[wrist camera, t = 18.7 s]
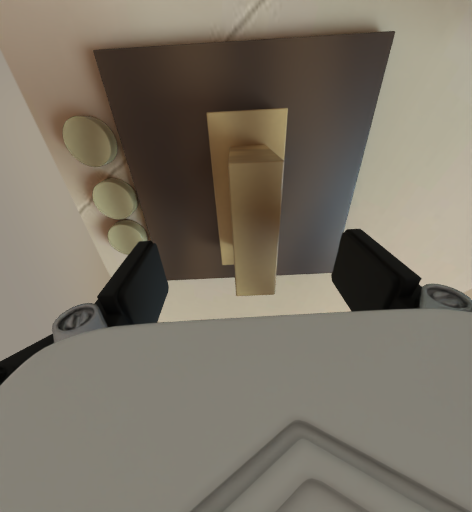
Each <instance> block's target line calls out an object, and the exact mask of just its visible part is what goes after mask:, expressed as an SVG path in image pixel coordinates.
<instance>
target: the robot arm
mask: <svg viewBox="0 0 472 512" xmlns="http://www.w3.org/2000/svg"><path fill="white" fill-rule="evenodd" d="M420 280H421V278H420V277H419V276H418V275H417V274H415V273H414V272H413V271H412V270H411V269H409V268H408V267H407V266H406V265H404V264H403V263H402V262H401V261H399V260H398V259H397V258H396V257H394V256H393V255H392V254H391V253H390V252H388V251H387V250H386V249H385V248H383V247H382V246H381V245H380V244H378V243H377V242H376V241H375V240H373V239H372V238H371V237H370V236H368V235H367V234H366V233H365V232H364V231H362V230H361V229H348V230H346V231H345V233H342V235H341V239H340V243H339V247H338V252H337V256H336V260H335V264H334V268H333V272H332V282H333V283H334V285H335V286H336V288H337V289H338V291H339V293H340V294H341V296H342V297H343V299H344V300H345V302H346V303H347V305H348V306H349V308H350V309H351V311H352V312H334V313H316V314H298V315H280V316H262V317H245V318H227V319H210V320H193V321H177V322H161V323H157V321H158V318H159V315H160V313H161V310H162V307H163V304H164V301H165V299H166V296H167V293H168V282H167V279H166V275H165V272H164V268H163V265H162V261H161V258H160V254H159V251H158V247H157V245H156V243H153V242H152V241H139V242H138V243H137V244H136V246H135V247H134V248H133V250H132V251H131V252H130V254H129V255H128V256H127V258H126V259H125V260H124V262H123V263H122V264H121V266H120V267H119V268H118V270H117V271H116V272H115V274H114V275H113V276H112V278H111V279H110V280H109V282H108V283H107V284H106V286H105V287H104V288H103V290H102V291H101V292H100V293H99V295H98V296H97V298H98V300H97V301H96V302H95V304H92V303H86V304H81V305H77V306H75V307H72V308H70V309H69V310H67V311H65V312H64V313H62V314H61V315H60V316H59V317H58V318H57V319H56V320H55V322H54V323H53V326H52V332H53V334H51V335H49V336H48V337H46V338H44V339H42V340H40V341H38V342H36V343H34V344H32V345H31V346H29V347H27V348H25V349H23V350H21V351H19V352H17V353H15V354H14V355H12V356H10V357H8V358H6V359H4V360H2V361H0V512H472V300H471V299H470V298H469V297H468V296H467V295H465V294H464V293H462V292H460V291H458V290H456V289H454V288H451V287H448V286H444V285H440V284H426V285H424V286H423V287H421V286H420V285H419V282H420Z"/></svg>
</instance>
